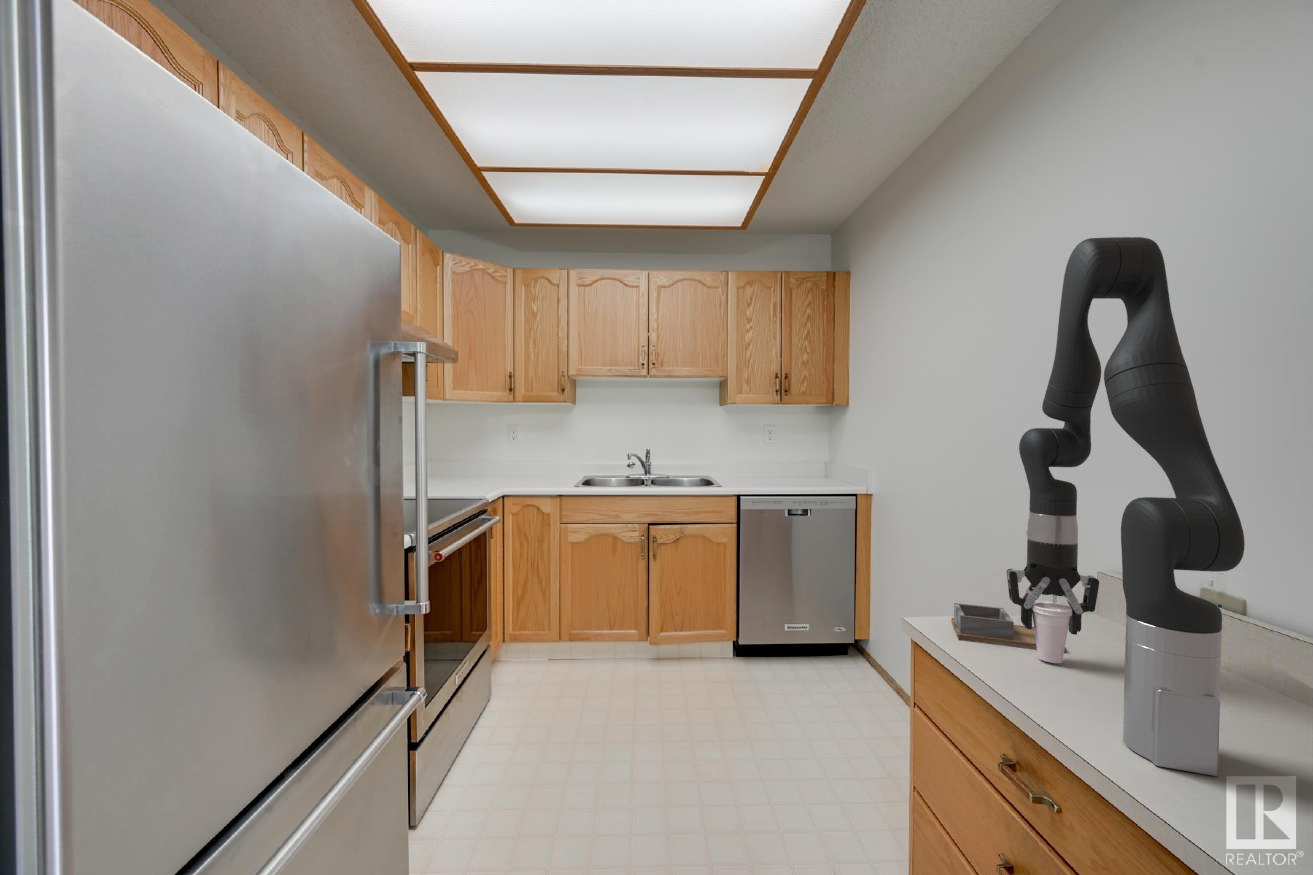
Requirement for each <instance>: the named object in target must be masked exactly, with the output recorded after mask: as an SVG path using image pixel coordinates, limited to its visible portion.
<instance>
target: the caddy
mask: <svg viewBox="0 0 1313 875" xmlns="http://www.w3.org/2000/svg"><path fill="white" fill-rule="evenodd" d="M953 609H954V610H953V617H951V619H950V620H951V624H952V627H953V630H954V631H955V634H956V638H957V639H958V641H966V642H974V643H983V644H988V645H989V644H991V645H998V646H1005V645H1006V646H1007V647H1015V648H1022V649H1029V650H1037V646H1036V638H1035V631H1034V626H1032V629H1027V628H1026V627H1025V625H1021V624H1020V625H1019V624H1014V623H1015V621H1014V620H1013V619H1012V618H1011V616H1010V615H1009V613H1008V612H1007V611H1006V610H1005V608H1003V607H996V606H995V607H994V606H985V605H977V604H976V605H975V604H966V603H956V602H954V607H953ZM1064 654H1067V647H1066V646H1065V650H1064Z"/></svg>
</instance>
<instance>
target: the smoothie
mask: <svg viewBox="0 0 1313 875" xmlns="http://www.w3.org/2000/svg"><path fill="white" fill-rule="evenodd" d="M1057 597H1058V596H1056V595H1053V594H1052V601H1047V600H1036V601H1035V602H1034V604H1033V605H1032V607H1031V609H1032V624H1033V627H1034V631H1035V638H1036V646H1037V649H1036V652H1037V658H1038V659H1039V660H1042V661H1043V662H1048V663H1051V664H1052V663H1053V664H1060V663H1063V662H1064V654H1065V653H1064V650H1065V647H1066V642H1067V637H1068V632H1069V620H1070V616H1072V608H1070V606H1069V605H1066V604H1063V603H1060V602H1057Z"/></svg>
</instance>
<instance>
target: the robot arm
mask: <svg viewBox="0 0 1313 875" xmlns="http://www.w3.org/2000/svg"><path fill="white" fill-rule="evenodd" d="M1166 269H1167V268H1166V264H1165V260H1164V255H1163V252H1162V250H1161V249H1160V247H1159V245H1158V243H1157V242H1156V241H1155V240H1153V239H1151V238H1147V237H1139V236H1136V237H1135V236H1132V237H1131V236H1128V237H1126V236H1125V237H1124V236H1123V237H1121V236H1119V237H1117V236H1116V237H1115V236H1114V237H1112V236H1111V237H1110V236H1109V237H1090V238H1086V239H1084V240H1082V241H1081V242H1079V243H1078V244H1077V245H1076V246H1075V247H1074V249H1073V250H1072V251H1071V253H1070V255H1069V258H1068V261H1067V263H1066V266H1065V271H1064V275H1063V281H1062V282H1063V283H1062V289H1061V290H1062V291H1061V298H1060V307H1059V314H1058V324H1057V335H1056V343H1055V344H1056V345H1055V346H1056V347H1055V353H1054V361H1053V366H1052V368H1051V371H1050V372H1051V373H1050V376H1049V380H1048V383H1047V387H1046V391H1045V394H1044V397H1043V401H1042V404H1041V405H1042V406H1041V408H1042V412H1043V414H1044V415H1045V416H1046V417H1048V418H1051V419H1054V420H1056V421H1060V422H1064V425H1063V427H1062V428H1058V427H1057V428H1054V427H1053V428H1050V427H1049V428H1047V427H1036V428H1030V429H1028V430H1027V431H1025V432H1024V433H1023V435H1022V436H1021V438H1020V440H1019V445H1018V449H1019V450H1018V452H1019V457H1020V459H1021V462H1022V466H1023V469H1024V473H1025V476H1026V477H1025V478H1026V480H1027V484H1028V489H1029V513H1028V518H1027V530H1026V537H1027V538H1026V541H1027V542H1026V543H1027V544H1026V545H1027V546H1026V566H1025V567H1024V569H1022V570H1015V569H1013V568H1008V569H1007V570H1006V577H1007V578H1006V579H1007V580H1006V581H1007V587H1008V597H1009V600H1010V601H1011V602H1012V603H1013V605H1018V606H1019V607H1020V622H1021V624H1022V626H1025V627H1026V628H1027V629H1032V627H1033V615H1032V609H1031V607H1032V605H1033V604H1034V602H1035V601H1038V600H1039V598H1040V597H1041V595H1043V596H1050V595H1052V596H1053V595H1056V596H1057V597H1062V598H1064V600H1065V601H1066V602H1067V604H1068V606H1069V607H1070V608H1072V616H1070V620H1069V626H1068V632H1069V633H1070V635H1077V634H1078V633H1080V632H1081V630H1082V615H1083V614H1084V613H1087V612H1090V613H1093V612H1095V611H1096V607H1097V600H1098V593H1099V587H1100V581H1099V579H1098V578H1096V577H1095V576H1093V575H1082V574H1080V573H1079V571H1078V558H1079V556H1078V555H1079V554H1078V550H1079V548H1078V546H1079V525H1078V519H1077V516H1078V515H1077V510H1078V509H1077V507H1078V506H1077V505H1078V502H1077V501H1078V489H1077V487H1076V485H1075V484H1073V483H1072V482H1070V481H1068V480H1067V481H1066V480H1063V479H1062V480H1061V479H1057V478H1055V477H1054V476H1053V475H1052V474H1053V473H1052V472H1051V470H1050V468H1076V467H1079V466H1081V465H1082V464H1084V463H1085V462H1086V461H1087V460H1088V458H1089V457H1090V454H1091V451H1092V439H1091V438H1092V435H1091V434H1092V433H1091V423H1092V422H1091V421H1092V420H1091V416H1092V414H1091V413H1092V408H1093V406H1094V402H1095V399H1096V395H1097V394H1098V390H1099V388H1100V383H1101V379H1102V378H1101V377H1102V365H1101V360H1100V357H1099V355H1098V352H1097V349H1096V348H1095V344H1094V342H1093V339H1092V337H1091V334H1090V329H1089V321H1088V320H1089V313H1090V312H1089V311H1090V308H1091V305H1092V302H1093V300H1095V299H1106V300H1107V299H1108V300H1109V299H1110V300H1111V299H1112V300H1113V299H1115V300H1116V299H1119V300H1121V301H1122V303H1123V304H1124V307H1125V310H1126V317H1127V318H1126V320H1127V321H1126V322H1127V323H1126V324H1127V325H1126V328H1125V331H1124V333H1123V335H1122V336H1121V338H1120V340H1119V342H1118V343H1117V345H1116V347H1115V348H1114V349H1113V351H1112V353H1111V355H1110V356H1109V357H1108V358H1109V359H1108V360H1107V362H1106V365H1105V368H1104V371H1103V382H1104V387H1105V392H1106V396H1107V400H1108V404H1109V405H1108V406H1109V409H1110V412H1111V414H1112V416H1113V419H1114V420H1115V421H1116V423H1117V424H1118V425H1119V426H1120V427H1121V428H1122V430H1123V431H1124V432H1125V433H1126V434H1127V435H1128V436H1129V437H1130V438H1131V439H1132V440H1133V441H1134V442H1135V443H1136V444H1138V446H1140V448H1142V449H1143V450H1144V451H1145V452H1146V453H1148V454H1149V455H1150V457H1152V459H1154V460H1155V461H1156V462H1157V464H1158V465H1159V466H1160V468H1161V469H1162V471H1163V472H1164V474H1165V475H1166V477H1167V479H1168V481H1169V482H1170V486H1171V488H1172V491H1173V493H1174V496H1175V497H1157V496H1155V497H1154V496H1153V497H1152V496H1151V497H1150V496H1149V497H1147V496H1143V497H1137V498H1135V499H1133V500H1131V501H1130V502H1129V503H1128V504H1127V505H1126V507H1125V508H1124V511H1123V513H1122V517H1121V521H1120V522H1121V523H1120V546H1121V567H1122V569H1121V570H1122V571H1121V572H1122V576H1121V577H1122V589H1123V593H1124V598H1125V604H1126V605H1125V606H1126V607H1125V615H1126V616H1125V637H1124V638H1125V639H1124V640H1125V643H1124V646H1125V647H1124V678H1123V679H1124V682H1123V683H1124V686H1123V718H1122V720H1123V727H1122V740H1123V742H1124V744H1125V745H1126V746H1127V747H1128V748H1129V749H1130V750H1131V751H1132V752H1135V753H1137V755H1139V756H1142V757H1143V758H1146V759H1148V760H1149V761H1151V762H1152V763H1153V765H1155V766H1158V767H1162V768H1168V769H1173V770H1174V769H1175V770H1179V771H1185V772H1192V773H1196V774H1203V775H1209V776H1213V777H1218V776H1219V756H1220V755H1219V754H1220V752H1219V751H1220V750H1219V749H1220V748H1219V746H1220V724H1221V723H1220V722H1221V720H1220V714H1221V713H1220V712H1221V665H1222V662H1221V661H1222V638H1223V637H1222V636H1223V631H1222V630H1223V614H1222V613H1223V612H1222V611H1221V609H1220V607H1219V606H1218V605H1216V604H1215V603H1213V602H1211V601H1209V600H1207V599H1205V598H1202V597H1198V596H1196V595H1193V594H1190V593H1187V592H1185V591H1183V590H1182V589H1180V588H1178V587H1177V583H1176V577H1175V570H1176V571H1177V570H1178V571H1190V572H1191V571H1193V572H1212V573H1213V572H1228V571H1231V570H1233V569H1235V568H1236V567H1238V565H1239V564H1240V563H1241V561H1242V559H1243V557H1244V553H1245V534H1244V529H1243V526H1242V522H1241V519H1240V516H1239V513H1238V511H1237V508H1236V506H1235V503H1234V500H1233V498H1232V496H1231V494H1230V491H1229V490H1228V486H1227V484H1226V482H1225V481H1224V478H1223V476H1222V473H1221V470H1220V468H1219V466H1218V464H1217V461H1216V459H1215V456H1214V454H1213V452H1212V449H1211V446H1210V442H1209V440H1208V437H1207V432H1206V431H1205V427H1204V424H1203V420H1202V417H1201V414H1200V411H1199V405H1198V401H1197V399H1196V393H1195V390H1194V386H1193V382H1192V379H1191V376H1190V372H1189V369H1188V366H1187V363H1186V360H1185V358H1184V354H1183V351H1182V348H1181V345H1180V340H1179V337H1178V336H1179V335H1178V333H1177V330H1176V325H1175V321H1174V317H1173V316H1174V315H1173V313H1172V308H1171V307H1172V306H1171V301H1170V300H1171V299H1170V294H1169V293H1170V292H1169V285H1168V277H1167V271H1166ZM1024 577H1025V578H1026V579H1027V581H1028V582H1029V583H1030V584H1029V585H1028V587H1027V589H1026V590H1025V594H1024V595H1023V596H1022V597H1021V596H1020V591H1019V590H1020V589H1019V583H1022V580H1023V578H1024ZM1078 583H1081V586H1082V587H1083V590H1084V592H1083V597H1082V602H1080V603H1079V601H1078V598H1077V597H1076V595H1075V593H1074V591H1073V589H1074V588H1075V587H1076V585H1078Z"/></svg>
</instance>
